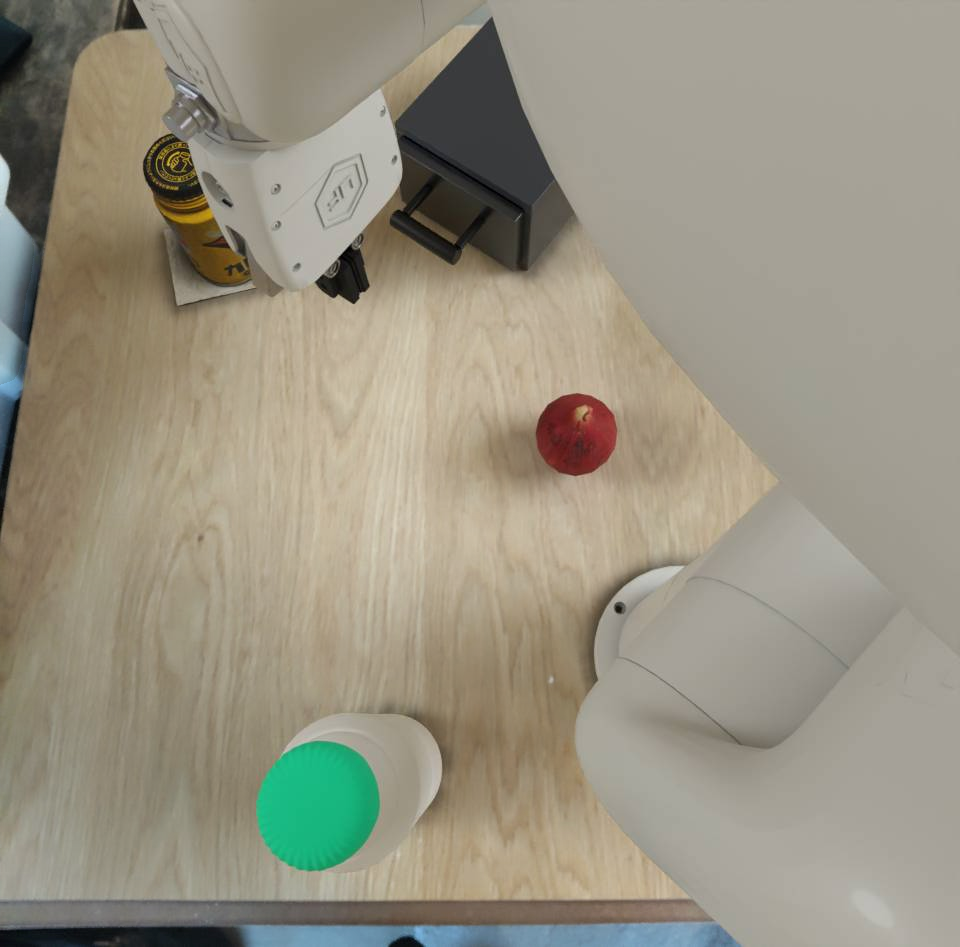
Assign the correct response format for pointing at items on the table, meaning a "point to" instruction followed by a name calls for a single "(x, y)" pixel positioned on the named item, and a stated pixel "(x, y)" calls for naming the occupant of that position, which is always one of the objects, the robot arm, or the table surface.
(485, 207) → the drawer
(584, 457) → the onion
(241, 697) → the table surface
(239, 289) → the condiment
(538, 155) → the cabinet
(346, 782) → the water bottle
